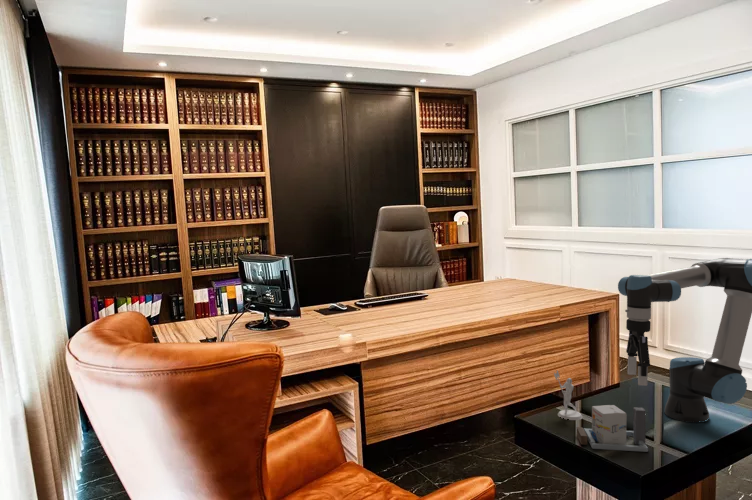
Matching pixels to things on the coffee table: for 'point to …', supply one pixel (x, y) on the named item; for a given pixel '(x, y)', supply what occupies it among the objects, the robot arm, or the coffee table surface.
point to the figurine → (568, 401)
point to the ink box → (609, 425)
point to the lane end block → (581, 435)
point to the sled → (637, 435)
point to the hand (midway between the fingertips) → (637, 379)
